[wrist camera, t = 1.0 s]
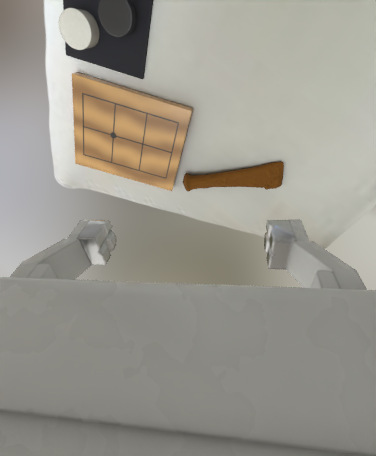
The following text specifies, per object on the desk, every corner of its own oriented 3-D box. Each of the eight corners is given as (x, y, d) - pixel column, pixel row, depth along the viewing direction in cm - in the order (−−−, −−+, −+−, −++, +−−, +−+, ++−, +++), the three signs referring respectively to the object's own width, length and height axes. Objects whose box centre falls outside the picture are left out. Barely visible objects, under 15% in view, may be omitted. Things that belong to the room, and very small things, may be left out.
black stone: (107, -11, 34) (98, -14, 31) (140, 0, 34) (133, -2, 32) (105, 30, 37) (97, 31, 34) (136, 40, 37) (130, 41, 35)
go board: (76, 71, 41) (71, 73, 39) (193, 108, 42) (192, 110, 41) (79, 159, 51) (75, 163, 49) (173, 186, 52) (171, 191, 51)
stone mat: (62, -44, 33) (60, -45, 32) (154, -12, 33) (153, -13, 33) (67, 54, 39) (65, 54, 39) (143, 78, 40) (142, 79, 40)
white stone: (68, 4, 35) (57, 2, 33) (100, 15, 36) (91, 14, 33) (69, 43, 38) (59, 44, 36) (99, 52, 38) (91, 54, 36)
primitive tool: (283, 160, 46) (287, 168, 43) (281, 186, 49) (284, 195, 47) (182, 170, 50) (180, 178, 47) (187, 193, 53) (185, 202, 50)
